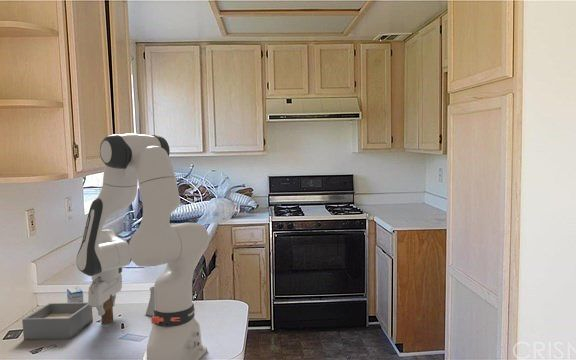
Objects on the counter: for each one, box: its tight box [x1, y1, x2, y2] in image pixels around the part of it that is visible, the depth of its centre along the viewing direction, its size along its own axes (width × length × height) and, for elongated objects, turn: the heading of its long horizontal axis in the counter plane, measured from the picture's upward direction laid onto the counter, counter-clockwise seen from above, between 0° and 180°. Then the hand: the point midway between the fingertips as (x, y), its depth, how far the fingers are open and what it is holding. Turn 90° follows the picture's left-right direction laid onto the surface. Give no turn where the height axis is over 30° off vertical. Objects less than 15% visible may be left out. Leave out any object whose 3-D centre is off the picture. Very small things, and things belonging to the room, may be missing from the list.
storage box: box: [21, 301, 94, 341], centre depth 160 cm, size 16×16×7 cm
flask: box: [145, 286, 155, 317], centre depth 174 cm, size 7×7×10 cm
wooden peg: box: [101, 294, 114, 325], centre depth 166 cm, size 4×4×10 cm
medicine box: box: [66, 286, 85, 303], centre depth 179 cm, size 8×4×9 cm, turn 37°
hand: (107, 310), depth 166 cm, fingers open, 7 cm apart
